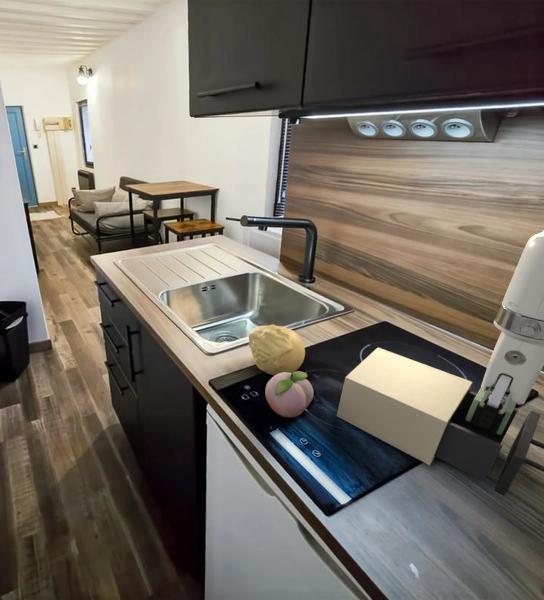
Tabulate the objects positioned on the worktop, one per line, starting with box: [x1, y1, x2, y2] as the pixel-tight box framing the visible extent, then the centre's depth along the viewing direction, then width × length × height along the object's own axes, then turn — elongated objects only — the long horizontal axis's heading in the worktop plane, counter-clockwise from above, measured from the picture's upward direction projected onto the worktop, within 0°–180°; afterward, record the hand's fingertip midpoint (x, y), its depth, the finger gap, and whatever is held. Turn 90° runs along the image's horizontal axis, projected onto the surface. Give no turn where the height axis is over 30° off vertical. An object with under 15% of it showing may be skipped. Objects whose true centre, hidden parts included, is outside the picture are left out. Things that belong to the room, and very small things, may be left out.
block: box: [465, 387, 517, 435], centre depth 58 cm, size 4×4×4 cm
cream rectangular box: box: [336, 347, 473, 466], centre depth 69 cm, size 16×15×10 cm
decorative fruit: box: [264, 370, 314, 418], centre depth 71 cm, size 9×8×10 cm
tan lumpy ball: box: [248, 323, 306, 377], centre depth 85 cm, size 11×12×11 cm
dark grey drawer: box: [434, 390, 544, 497], centre depth 60 cm, size 20×13×8 cm
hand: (487, 418), depth 59 cm, fingers open, 4 cm apart
